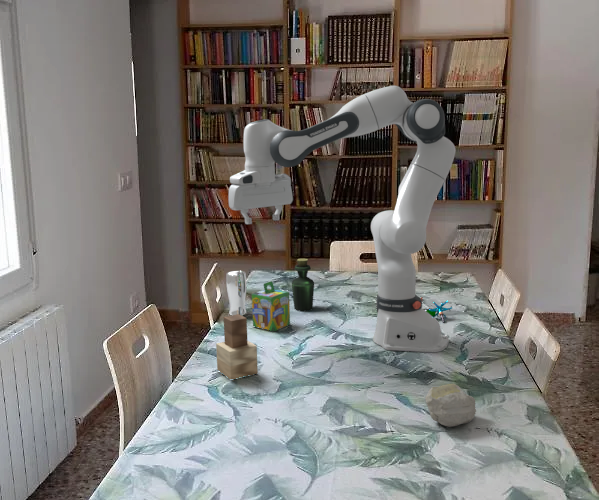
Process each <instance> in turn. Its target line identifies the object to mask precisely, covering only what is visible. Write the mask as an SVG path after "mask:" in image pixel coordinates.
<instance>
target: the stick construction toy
mask: <svg viewBox="0 0 599 500" xmlns="http://www.w3.org/2000/svg"><path fill="white" fill-rule="evenodd" d="M432 302H433V305H434V306H435V307H434V308H430V307H429V308H423V309H424V310H425V311H426V312H427V313H429V314H430V315H431V316H433V317H434V318H435V317H437V318H439V316H440V318H441V321H442V324H445V323H446V320H445V318H447V315H446V314H445V313H444V312H446V311H449V312H451V310H452V309H453V307H452V305H450V307H444V306H445V305H446V304H449V300H446V301H445V302H443V301H441V302H440V303H441V304H440V305H439V304H437V303H436V302H435V301H432Z"/></svg>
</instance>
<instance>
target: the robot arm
mask: <svg viewBox="0 0 599 500" xmlns="http://www.w3.org/2000/svg"><path fill="white" fill-rule="evenodd" d="M445 121H446V119H445V111H444V109H443V107H442V105H441V104H439V102H437V101H436V100H433V99H430V98H422V99H419V100H416V101H415V102H413V101H411V100H410V99H409V98H408V96H407V94H406V92H405V91H404V89H403V88H402V87H400V86H398V85H390V86H385V87H381V88H377V89H374V90H372V91H368V92H366V93H364V94H361V95H358V96H357V97H355V98H354V99H352V100H350V101H349V102H347V103H346V104H344V105H343V106H342V107H341V108H340V109H339V110H338V111H337V112H336V113H335V114H334V115H333V116H331V117H329V118H328V119H326V120H323V121H321V122H319V123H316V124H315V125H312V126H310V127H307V128H305V129H302V130H291V129H289V128H285V127H283V126H280V125H277V124H276V123H274V122H273V121H271V120H270V119H268V118H266V119H265V118H264V119H260V120H256V121H253V122H251V121H250V122H249V123H248V124H247V125H246V126H244V129H243V153H244V158H245V162H244V170H242V171H240V172H238V173H236V174H233V175H231V176H230V177H229V183H230V184H231V185H230V186H229V188H228V207H229V208H230V210H232V211H240V214H241V215H242V217H243V219H244V224H245V225H252V224H253V221H252V220H253V218H252V217H249V214H248V213H249V210H252V209H259V208H267V207H274V208H275V212H274V213H273V214H272V215H271V216H272V220H273V221H275V222H276V221H280V215H281V213H282V211H283V206H284V205H291V204H292V203H293V201H294V197H293V191H292V190H293V189H292V186H291V185H292V179H291V177H290V176H289V174H287V173H278V174H277V173H276V168H275V166H276V165H275V163H276V164H277V165H279V166H280V167H284V168H293V167H295V166H298V165H299V164H300V163H302V162H303V160H304V159H305V158H306V157H307V156H308V155H309V154H311V153H312V152H314V151H316V150H318V149H319V148H322V147H324V146H327V145H329V144H331V143H334V142H336V141H338V140H342V139H347V138H355V137H359V136H364V135H368V134H370V133H373V132H376V131H378V130H381V129H383V128H385V127H388V126H392V125H395V126H396V127H397V129H398V130H399V131H400V132H401V134H402V135H403V136H404V137H405V138H406V139H408V140H409V141H411V142H413V143H414V142H415V143H416V144H417V147H416V152H415V156H414V157H413V159H412V161H410V165H409V166H408V168H407V171H406V172H405V175H404V177H402V180H401V182H400V184H399V186H398V188H397V189H398V193H397V194H398V195H397V199H396V203H395V206H394V210H391V209H389V210H384V211H381V212H378V213H377V214H376V215H375V216H373V218H372V220H371V222H370V231H371V234H372V237H373V239H372V240H373V245H374V250H375V251H374V252H375V258H376V263H377V272H378V273H377V274H378V275H377V276H378V277H377V281H378V282H377V284H378V285H377V286H378V287H377V288H378V289H377V292H378V293H377V294H376V302H375V303H376V304H375V305H376V313H377V317H376V323H375V329H374V333H373V336H372V341H373V342H374V343H375V344H377V345H378V346H381V347H382V348H383V349H384V350H387V351H398V352H399V351H400V352H401V351H403V352H419V353H420V352H421V353H439V352H442V351H444V350H445V349H446V348H447V347H448V346H449V341H450V340H449V337H448V336H447V335H446V334H442V330H441V329H442V328H441V324H440V322H439V321H438V319H436V318H435V317H433V316H431V315H430V314H429V313H427V312H426V311H425V310H424V309H425V308H423V300H424V299H423V297H422V296H421V297H419V295H417V293H416V288H417V287H416V281H417V280H416V278H417V277H416V275H417V272H416V266H415V264H414V262H413V257H412V254H416V253H418V252H419V251H421V250H422V249H423V247H425V245H426V241H427V226H428V223H429V219H430V215H431V211H432V209H433V206H434V203H435V201H436V199H437V197H438V195H439V193H440V191H441V189H442V187H443V185H444V184H445V181H446V179H447V177H448V174H449V173H450V170H451V168H452V165H453V162H454V158H455V156H456V152H457V151H456V146H455V144H454V143H453V142H452V141H451V140H450V139H449V138H448V137H446V136H445V135H446V124H445V123H446V122H445Z"/></svg>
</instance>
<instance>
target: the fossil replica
mask: <svg viewBox="0 0 599 500" xmlns="http://www.w3.org/2000/svg"><path fill="white" fill-rule="evenodd" d="M424 400H425V404H426V405H427V408H428V411H429V416H430V418H431V419H432V420H433V421H435V422H437V423H438V424H440V425H442V426H445V427H448V428H452V427H457V426H460V425H462V424H463V425H464V424H468V423H470V422H472V421H473V419H474V417H475V416H476V412H477V408H476V399H475V398H474V397H473V396H472V395H468V394H466V393H465V391H463V389H461V387H460V386H459V385H458V384H455V383H446V384H442V385H440V386H432V387H431V388H429V389H428V392H427V394H426V395H425V399H424Z"/></svg>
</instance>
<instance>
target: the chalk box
mask: <svg viewBox="0 0 599 500" xmlns="http://www.w3.org/2000/svg"><path fill="white" fill-rule="evenodd" d="M268 286H269V287H270V288H268ZM263 288H264V289H261V290H258V291H256V292H253V293H251V306H252V307H251V309H252V312H251V313H252V327H253V326H255V327H259V328H263V329H262V330H264V329H267V330H266V331H269V330H270V331H269V332H273V331H274V332H277V331H279V330H281V329H283V327H284V328H286V327H285V326H287V325H289V324H290V325H291V316H290V315H291V313H290V311H291V310H290V292H289V291H285V290H281V289H275V286H274V283H273V281H272V280H270V281H268V282H265V283H263ZM290 325H289V326H290ZM287 327H288V326H287ZM280 328H281V329H280ZM278 329H279V330H278Z"/></svg>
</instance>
